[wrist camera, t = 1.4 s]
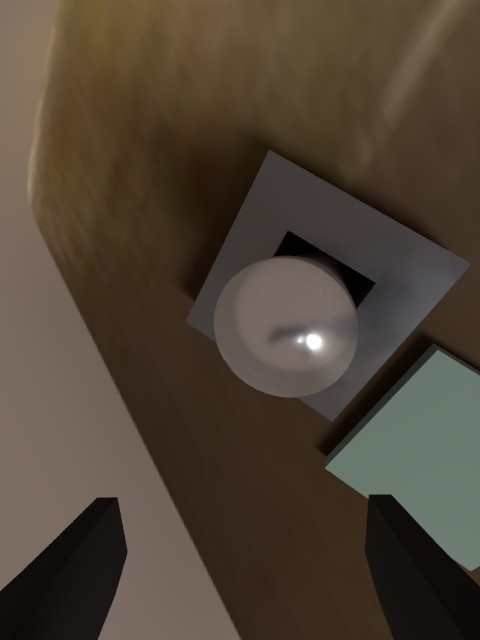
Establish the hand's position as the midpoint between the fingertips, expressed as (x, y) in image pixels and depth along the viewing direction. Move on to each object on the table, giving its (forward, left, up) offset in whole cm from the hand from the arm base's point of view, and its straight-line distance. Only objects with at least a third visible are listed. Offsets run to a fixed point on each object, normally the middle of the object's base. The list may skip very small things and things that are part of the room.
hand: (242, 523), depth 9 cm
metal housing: (-4, -2, -12) cm, 12 cm away
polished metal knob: (-4, -2, -12) cm, 12 cm away
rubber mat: (0, +10, -12) cm, 15 cm away
